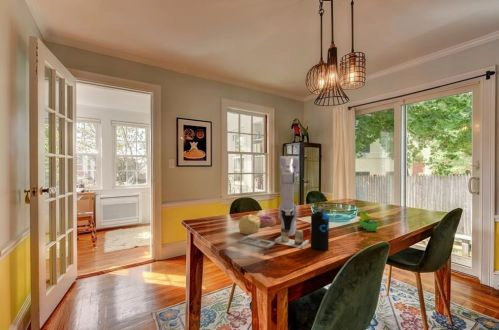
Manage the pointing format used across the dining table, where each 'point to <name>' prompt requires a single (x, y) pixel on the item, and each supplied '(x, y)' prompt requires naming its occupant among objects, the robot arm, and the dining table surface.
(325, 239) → the aerosol can
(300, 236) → the banded peg
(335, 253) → the dining table surface
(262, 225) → the donut
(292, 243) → the flanged base plate
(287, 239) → the plain peg
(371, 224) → the green lumpy piece
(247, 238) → the pin block
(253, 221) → the sculpture
